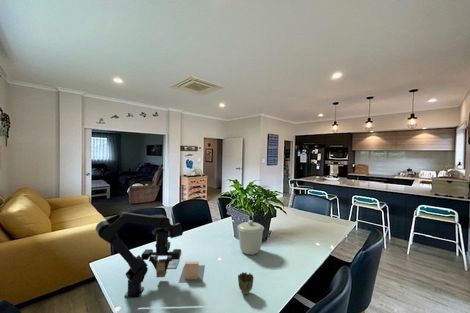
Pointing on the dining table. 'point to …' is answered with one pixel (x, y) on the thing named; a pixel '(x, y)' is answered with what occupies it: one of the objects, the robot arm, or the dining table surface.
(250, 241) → the canister
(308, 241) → the dining table surface
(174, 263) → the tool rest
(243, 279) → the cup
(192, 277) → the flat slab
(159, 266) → the walnut block
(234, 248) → the dining table surface
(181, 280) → the rubber mat
